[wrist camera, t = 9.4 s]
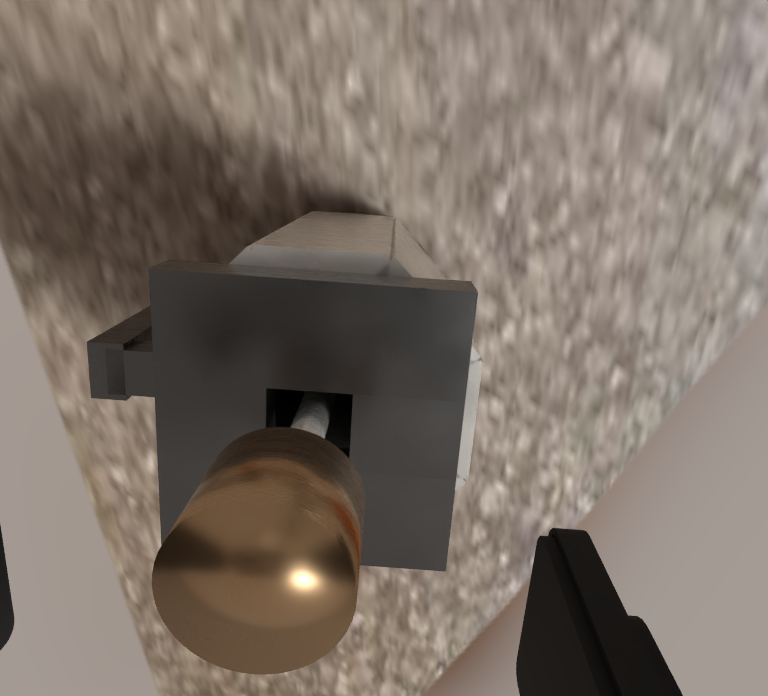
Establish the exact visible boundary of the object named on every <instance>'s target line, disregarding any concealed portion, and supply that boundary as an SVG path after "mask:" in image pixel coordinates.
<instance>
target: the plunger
mask: <svg viewBox="0 0 768 696" xmlns="http://www.w3.org/2000/svg"><path fill="white" fill-rule="evenodd" d="M336 394H337V393H327V392H313V391H305V393H304V395H303V398H302V400H301V403H300V405H299V408H298V410H297V413H296V415H295V418H294V420H293V422H292V425H291V427H290V428H289V427H271V428H264V429H259V430H255V431H252V432H250V433H247V434H244V435H243V436H241V437H239V438H237V439H235V440H234V441H233V442H231V443H230V444H228V445H227V446H226V447H225V448H224V449H223V450H222V451H221V452H220V453H219V455H218V456H217V457H216V458H215V460H214V461H213V463H212V465H211V466H210V468H209V470H208V471H207V473H206V474H205V476H204V478H203V479H202V481H201V482H200V484H199V486H198V487H197V489H196V491H195V492H194V494H193V495H192V497H191V499H190V500H189V502H188V503H187V505H186V507H185V508H184V510H183V512H182V513H181V515H180V516H179V518H178V520H177V521H176V523H175V524H174V526H173V528H172V529H171V531H170V533H169V534H168V536H167V537H166V539H165V541H164V542H163V544H162V546H161V548H160V550H159V551H158V554H157V557H156V559H155V562H154V567H153V573H152V589H153V596H154V600H155V603H156V607H157V609H158V612H159V614H160V616H161V618H162V620H163V621H164V623H165V625H166V626H167V628H168V629H169V630H170V632H171V633H172V634H173V635H174V637H175V638H176V639H177V640H178V641H179V642H180V643H182V644H183V645H184V646H185V647H186V648H187V649H189V650H190V651H191V652H193V653H194V654H196V655H197V656H199V657H201V658H202V659H204V660H206V661H208V662H210V663H212V664H214V665H217V666H219V667H222V668H225V669H228V670H232V671H237V672H241V673H249V674H276V673H283V672H288V671H292V670H295V669H299V668H302V667H304V666H306V665H309V664H311V663H313V662H315V661H316V660H318V659H320V658H321V657H323V656H324V655H326V654H327V653H328V652H329V651H331V650H332V649H333V648H334V647H335V646H336V645H337V644H338V643H339V642H340V640H341V639H342V638H343V636H344V635H345V633H346V632H347V630H348V628H349V626H350V624H351V622H352V619H353V616H354V613H355V608H356V601H357V591H358V580H359V570H360V559H361V548H362V537H363V527H364V516H365V493H364V487H363V484H362V481H361V478H360V476H359V474H358V471H357V470H356V468H355V466H354V465H353V463H352V462H351V461H350V459H349V458H348V457H347V456H346V455H345V454H344V453H343V452H342V451H341V450H340V449H339V448H338V447H337V446H335V445H334V444H332V443H331V442H330V441H328V440H326V439H325V435H326V431H327V428H328V424H329V420H330V416H331V413H332V409H333V405H334V401H335V397H336Z"/></svg>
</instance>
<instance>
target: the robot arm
mask: <svg viewBox="0 0 768 696" xmlns="http://www.w3.org/2000/svg"><path fill="white" fill-rule="evenodd" d="M13 626H14V613H13V606H12V600H11V593H10V587H9V580H8V573H7V566H6V560H5V553H4V546H3V539H2V533H1V526H0V650H1V649H2V648H3V647H4V645H5V644H6V643H7V641H8V640H9V638H10V636H11V633H12V630H13ZM516 671H517V672H516V674H517V682H518V688H519V693H520V696H683V695H682V693H681V691H680V689H679V687H678V685H677V683H676V681H675V679H674V677H673V676H672V674H671V672H670V670H669V668H668V666H667V664H666V662H665V660H664V658H663V656H662V654H661V652H660V650H659V648H658V646H657V644H656V642H655V640H654V639H653V637H652V635H651V633H650V631H649V629H648V627H647V625H646V624H645V623H644V621H643V620H642V619H641V618H639V617H638V616H628V615H627V613H626V611H625V609H624V607H623V604H622V602H621V600H620V598H619V596H618V594H617V592H616V590H615V588H614V586H613V584H612V582H611V580H610V577H609V575H608V573H607V571H606V569H605V567H604V565H603V563H602V561H601V559H600V557H599V555H598V553H597V551H596V548H595V546H594V544H593V542H592V540H591V538H590V536H589V534H588V533H587V532H586V531H584V530H573V529H560V528H552V529H551V530H550V532H549V535H548V536H540V537H539V538H538V541H537V545H536V551H535V557H534V563H533V569H532V574H531V580H530V586H529V592H528V598H527V603H526V610H525V615H524V621H523V627H522V632H521V638H520V644H519V650H518V656H517V666H516Z"/></svg>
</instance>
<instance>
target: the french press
mask: <svg viewBox="0 0 768 696" xmlns="http://www.w3.org/2000/svg"><path fill="white" fill-rule="evenodd" d="M149 278H150V300H151V306H149V307H147V308H145V309H144V310H142V311H140V312H138V313H137V314H135V315H133V316H131V317H130V318H128V319H126V320H124V321H123V322H121V323H119V324H117V325H116V326H114V327H112V328H110V329H109V330H107V331H105V332H103V333H102V334H100V335H98V336H96V337H95V338H93V339H91V340H89V341H88V342H87V350H88V363H89V376H90V388H91V398H99V399H113V400H127V399H129V398H130V397H131V396H146V397H155V411H156V433H157V455H158V478H159V500H160V522H161V544H163V542H164V541H165V539H166V537H167V536H168V534H169V533H170V531H171V529H172V528H173V526H174V524H175V523H176V521H177V520H178V518H179V516H180V515H181V513H182V512H183V510H184V508H185V507H186V505H187V503H188V502H189V500H190V499H191V497H192V495H193V494H194V492H195V491H196V489H197V487H198V486H199V484H200V482H201V481H202V479H203V478H204V476H205V474H206V473H207V471H208V470H209V468H210V466H211V465H212V463H213V461H214V460H215V458H216V457H217V456H218V455H219V453H220V452H221V451H222V450H223V449H224V448H225V447H226V446H227V445H228V444H230V443H231V442H233V441H234V440H235V439H237V438H239V437H241V436H243V435H244V434H247V433H250V432H252V431H255V430H259V429H264V428H271V427H289V428H290V427H291V425H292V422H293V420H294V418H295V415H296V413H297V410H298V408H299V405H300V403H301V400H302V398H303V395H304V393H305V391H313V392H327V393H337V394H336V397H335V401H334V405H333V409H332V413H331V416H330V420H329V424H328V428H327V431H326V435H325V439H326V440H328V441H330V442H331V443H332V444H334V445H335V446H337V447H338V448H339V449H340V450H341V451H342V452H343V453H344V454H345V455H346V456H347V457H348V458H349V459H350V461H351V462H352V463H353V465H354V466H355V468H356V470H357V471H358V474H359V476H360V478H361V481H362V484H363V487H364V493H365V516H364V527H363V537H362V548H361V559H360V565H365V566H379V567H393V568H407V569H421V570H435V571H446V563H447V554H448V546H449V537H450V529H451V520H452V511H453V503H454V494H455V490H456V489H458V488H459V487H461V486H462V485H463V484H465V483H466V480H465V479H468V477H469V469H470V460H471V452H472V444H473V436H474V428H475V420H476V411H477V403H478V395H479V387H480V379H481V371H482V363H483V361H482V359H481V355H480V353H479V350H478V348H477V346H476V344H475V341H474V339H473V331H474V322H475V313H476V305H477V296H478V291H477V290H476V288H475V287H474V285H473V284H472V282H471V281H457V280H448V279H447V278H446V276H445V275H444V274H443V273H442V272H441V270H440V269H439V268H438V267H437V266H436V265H435V263H434V262H433V261H432V260H431V259H430V257H429V256H428V255H427V253H426V252H425V250H424V249H423V248H422V246H421V245H420V244H419V243H418V242H417V241H416V240H415V239H414V238H413V237H412V236H411V235H410V234H409V233H408V231H407V230H406V229H405V228H404V227H403V226H402V224H401V223H400V222H399V221H398V220H397V219H396V218H395V219H394V220H393V216H379V215H370V214H365V213H357V212H339V213H337V212H323V211H312V212H309V213H308V214H306V215H304V216H302V217H300V218H298V219H297V220H295V221H293V222H291V223H289V224H287V225H286V226H284V227H282V228H280V229H278V230H276V231H275V232H273V233H271V234H269V235H267V236H265V237H263V238H262V239H260V240H258V241H256V242H254V243H252V244H251V245H249V246H247V247H246V248H245V249H244V250H243V251H242V252H241V253H240V254H239V255H238V256H236V257H235V258H234V259H233V260H232V261H231V262H230V263H229V264H221V263H207V262H193V261H179V260H168V261H166V262H163V263H161V264H159V265H156V266H154V267H151V268H149Z"/></svg>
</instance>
